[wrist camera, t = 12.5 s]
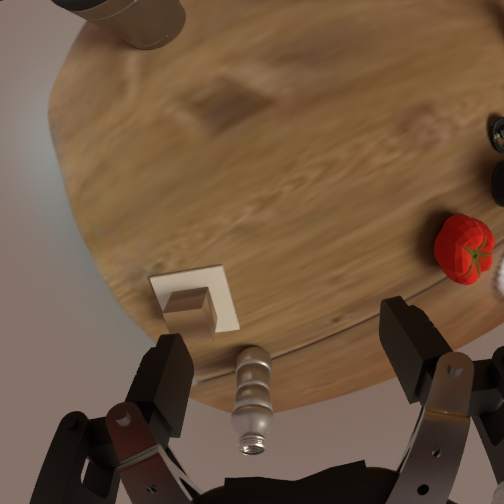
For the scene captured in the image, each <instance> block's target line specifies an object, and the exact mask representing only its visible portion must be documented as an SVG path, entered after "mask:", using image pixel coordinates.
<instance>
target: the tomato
mask: <svg viewBox="0 0 504 504" xmlns="http://www.w3.org/2000/svg"><path fill="white" fill-rule="evenodd" d="M494 245H495V240H494V236H493V234H492V233H491V231H490V230H489V228H488V227H487V225H485V224H484V223H483V222H481V221H480V220H477V219H475V218H471V217H468V216H466V215H464V214H457V215H454V216H451V217H450V218H448V219H447V220H446V221H445V222H444V225H443V227H442V229H441V231H440V232H439V234H438V235H437V237H436V239H435V243H434V256H435V258H436V260H437V262H438V263H439V265H440V266H441V268H442V270H443V272H444V273H445V274H446V275H447V277H449V278H450V279H451V280H453V281H454V282H457V283H460V284H463V285H470V284H473V283H475V282H476V281H477V279H478V277H479V275H480V273H482V272H484V271H487V270H489V269H490V267H491V264H492V250H493V247H494Z"/></svg>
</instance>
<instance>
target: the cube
mask: <svg viewBox="0 0 504 504" xmlns="http://www.w3.org/2000/svg"><path fill="white" fill-rule="evenodd" d="M162 314H163V316H164V319H165V321H166V323H167V326H168V328H169V330H170V333H171V334H174V333H179V334H180V335H181V336H182V338H183V340H184V343H185V344H193V343H203V342H213V341H214V335H215V330H216V325H217V319H218V317H217V314H216V311H215V307H214V304H213V301H212V298H211V294H210V291H209V288H208V287H202V288H195V289H189V290H182V291H175V292H172V294H171V296H170V298H169V300H168V302H167V304H166V307H165V309H164V311H163V313H162Z"/></svg>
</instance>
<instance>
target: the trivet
mask: <svg viewBox="0 0 504 504" xmlns="http://www.w3.org/2000/svg"><path fill="white" fill-rule="evenodd" d="M150 281H151V283H152V286H153V289H154V291H155V294H156V296H157V299H158V301H159V304H160V306H161V309H162V311H164V309H165V307H166V304H167V302H168V300H169V298H170V296H171V294H172V292H175V291H182V290H189V289H195V288H202V287H208V288H209V291H210V294H211V298H212V301H213V304H214V307H215V311H216V314H217V317H218V319H217V325H216V330H215V332H224V331H231V330H239V329H240V326H239V323H238V319H237V315H236V312H235V308H234V305H233V301H232V297H231V294H230V290H229V286H228V283H227V279H226V275H225V271H224V268H223V264H221V265H215V266H210V267H204V268H198V269H192V270H186V271H180V272H174V273H169V274H163V275H157V276H151V277H150Z"/></svg>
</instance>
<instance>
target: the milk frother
mask: <svg viewBox="0 0 504 504" xmlns="http://www.w3.org/2000/svg"><path fill="white" fill-rule="evenodd" d="M491 137H492V141H493V144H494V145H495V147H496V149H497V150H499V151H500V152H502V153H504V147H503V146H501V145H500V144H499V142H498V140H497V138H498V137H501V138H502V139H504V117H500V118H498V119H497V120H495V122H494V123H493V125H492V128H491ZM492 191H493V196H494V199H495V201H496V203H497V204H498V205H499V206H501V207H504V161H502V162H501V163H500V164H499V165H498V166H497V168H496V170H495V173H494V176H493V182H492Z"/></svg>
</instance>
